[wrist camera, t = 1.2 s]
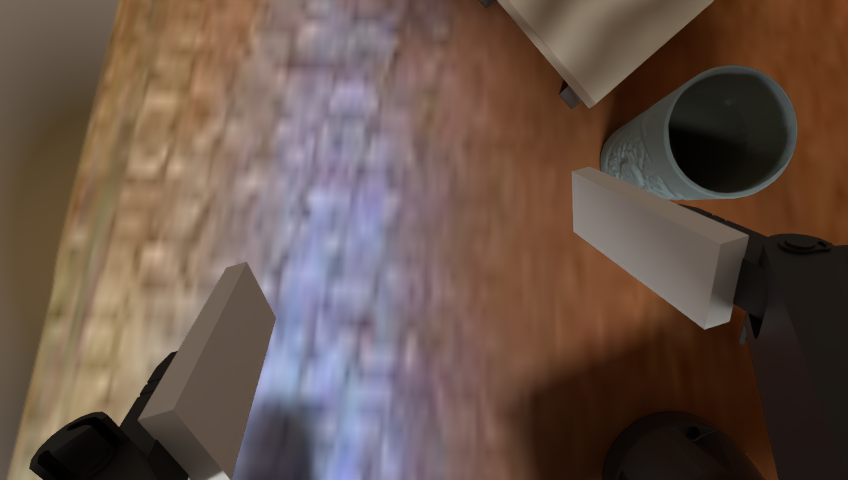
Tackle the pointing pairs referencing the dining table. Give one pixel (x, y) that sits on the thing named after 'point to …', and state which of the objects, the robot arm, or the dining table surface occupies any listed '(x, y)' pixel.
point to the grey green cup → (707, 138)
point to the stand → (598, 37)
